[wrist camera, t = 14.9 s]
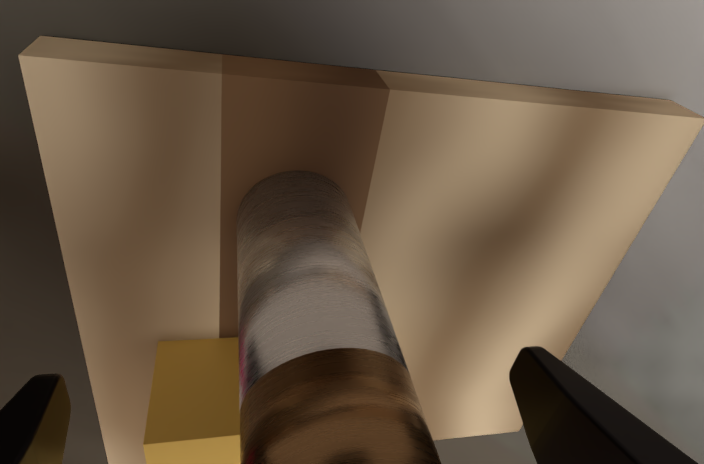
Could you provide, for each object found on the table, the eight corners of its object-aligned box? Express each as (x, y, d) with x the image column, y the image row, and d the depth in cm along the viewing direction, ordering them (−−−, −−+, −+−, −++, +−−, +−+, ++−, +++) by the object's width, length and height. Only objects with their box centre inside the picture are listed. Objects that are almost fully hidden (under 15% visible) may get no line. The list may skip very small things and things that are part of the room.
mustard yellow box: (371, 330, 17) (399, 418, 14) (351, 415, 20) (371, 503, 17) (158, 341, 15) (143, 444, 13) (168, 433, 18) (158, 534, 15)
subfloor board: (671, 100, 16) (707, 118, 15) (504, 404, 25) (518, 431, 24) (40, 35, 11) (18, 55, 10) (117, 439, 20) (111, 474, 19)
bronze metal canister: (359, 173, 13) (477, 452, 7) (341, 264, 15) (422, 551, 9) (238, 167, 12) (245, 477, 6) (234, 265, 14) (238, 581, 8)
